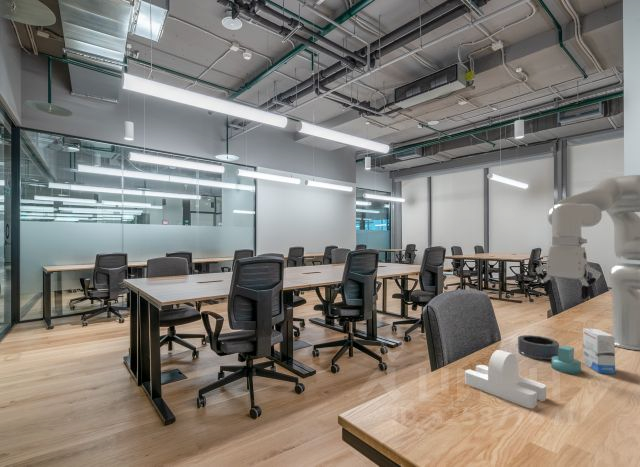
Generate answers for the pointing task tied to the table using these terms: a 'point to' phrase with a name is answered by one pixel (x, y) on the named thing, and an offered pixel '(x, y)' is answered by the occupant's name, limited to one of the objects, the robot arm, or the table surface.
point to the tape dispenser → (506, 380)
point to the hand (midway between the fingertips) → (566, 296)
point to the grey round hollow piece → (537, 347)
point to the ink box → (599, 350)
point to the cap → (566, 361)
